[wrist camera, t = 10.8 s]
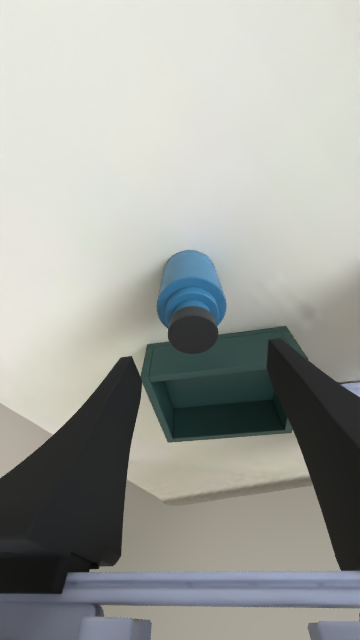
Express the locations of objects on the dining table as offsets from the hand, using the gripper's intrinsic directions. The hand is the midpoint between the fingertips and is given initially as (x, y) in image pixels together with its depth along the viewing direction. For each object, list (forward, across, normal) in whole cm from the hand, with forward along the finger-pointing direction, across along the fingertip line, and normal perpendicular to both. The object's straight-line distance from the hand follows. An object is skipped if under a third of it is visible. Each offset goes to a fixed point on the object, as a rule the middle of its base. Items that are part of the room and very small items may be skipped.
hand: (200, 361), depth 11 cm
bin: (+9, -1, +12) cm, 15 cm away
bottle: (+9, 0, -1) cm, 9 cm away
